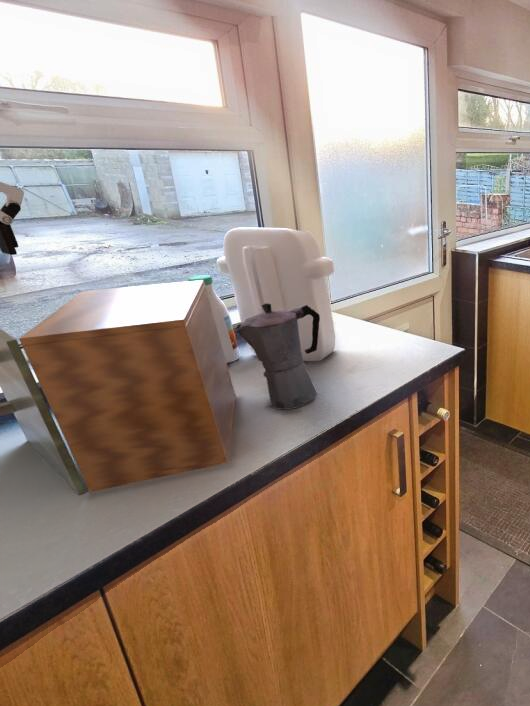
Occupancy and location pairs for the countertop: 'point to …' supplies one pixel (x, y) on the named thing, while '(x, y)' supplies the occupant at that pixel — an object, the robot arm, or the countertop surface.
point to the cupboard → (136, 381)
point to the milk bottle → (221, 320)
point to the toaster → (280, 279)
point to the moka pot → (282, 353)
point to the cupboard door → (33, 411)
